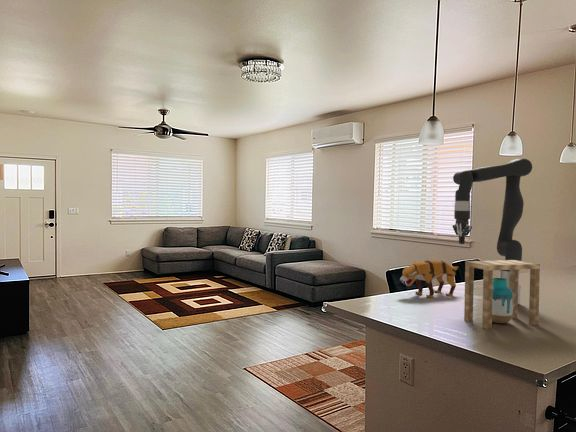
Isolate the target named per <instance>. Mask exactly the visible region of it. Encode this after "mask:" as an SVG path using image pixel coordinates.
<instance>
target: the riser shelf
mask: <svg viewBox="0 0 576 432" xmlns="http://www.w3.org/2000/svg"><path fill="white" fill-rule="evenodd" d="M464 265H465V267H464V306H463V307H464V308H463V309H464V311H463V312H464V313H463V314H464V315H463V319H464V321H465V322H467V323H469V322H474V290H475V289H474V286H475V285H474V282H475V281H474V280H475V279H474V278H475V269H479V270H483V273H482V275H483V277H482V278H483V279H482V280H483V281H482V283H483V284H482V321H481V322H482V323H481V324H482V329H486V330H491V329H493V327H492V326H493V325H492V324H493V322H492V292H493V278H494V277H493V276H494V271H499V270H510V283H509V288H510V289H511V290H512V292H513V314H512V318H511V320H512V319H515V320H516V319H518V312H519V310H518V309H519V304H518V276H519V277H520V270H529V297H528V299H529V300H528V302H529V305H528V325H531V326H539V322H540V321H539V319H540V317H539V315H540V312H539V311H540V310H539V309H540V279H541V278H540V276H541V275H540V273H541V272H540V271H541V270H540V269H541V268H540V267H541V264H540V263H536V262H529V261H523V260H522V261H518V260H505V259H503V260H501V259H500V260H496V259H495V260H466V261H465V264H464Z"/></svg>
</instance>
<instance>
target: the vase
mask: <svg viewBox="0 0 576 432" xmlns="http://www.w3.org/2000/svg"><path fill="white" fill-rule="evenodd" d="M512 314H513V292H512V290H511V289H510V288H508V286H507V279H505V278H499V277H493V292H492V323H496V324H507V323H509V322H510V321H512Z"/></svg>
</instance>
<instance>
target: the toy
mask: <svg viewBox="0 0 576 432" xmlns="http://www.w3.org/2000/svg"><path fill="white" fill-rule="evenodd" d="M459 269H460V265H459V266H458V265H457V266H453V265H452V264H449V263H448V262H446V261H443V260H438V259H428V260H425V261H424V260H423V261H415V262H413V263H412V264H411V265H409V266H406V267H404V268H403V269H402V272H401V273H402V275H401V277H400V278H399V281H400V282H401V283H403V284H402V285H405V286H406V287H411V286H412V285H413V284H414V282H415V283H416V286H417V288H418V291H415V295H423V289H424V287H423V285H422V281H425V284H426V287H427V289H428V291H429V295H428V294H426V295H425V296H426V298H429V299H432V298H434V295H435V294H441V293H442V290H443V287H444V284H445V280H444V279H443V276H444V275H446V281H447V284H449V285H450V289H449V292H448V293H447V292H446V293H445V296H447V297H452V296H454V291H455V289H456V286H457V284H456V283H455V276H456V271H458V270H459ZM434 279H436V281H437V282H438V283H439V284H438V288H437V290H435V289H434V285H433V282H432V281H433V280H434Z"/></svg>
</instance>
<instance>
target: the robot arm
mask: <svg viewBox="0 0 576 432" xmlns="http://www.w3.org/2000/svg"><path fill="white" fill-rule="evenodd" d="M532 170H533V164H532V162H531V160H529V159H527V158H516V159H512V160H510V161H509V162H508V163H505V164H504V163H503V164H498V165H489V166H482V167H477V168H474V169H469V170H468V169H467V170H460V171H457V172H455V173H454V175H453V178H452V180H453V182H454V184H456V185H458V189H456V190H455V193H454V197H455V198H454V214H453V215H454V217H453V218H454V220H455V224H453V225H452V226H451V227H452V229H453V231H454V233H455V234H456V236H458V244H459V245H465V243H466V239H465V238H466V236H467V237H468V236H469V234H470V232H471V230H472V228H473V226H472V225H470V222H469V220H470V219H471V191H472V186H473V183H480V182H481V183H482V182H485V181H490V180H494V179H499V178H504V177H505V191H504V200H503V206H502V207H503V208H502V215H501V216H502V217H501V223H500V230H499V235H498V239H497V242H496V251H497V254H498V255H499V256H501V257H505V258H504V260H518V261H523V260H522V259H523V257H522V256H523V246H522V243H521V242H520V241H518V240H516V239H513V237H514V230H515V229H516V226H517V225H518V223H519V222H520V220H521V218H522V216H523V212H524V204H525V203H524V197H523V195H522V192H521V189H520V184H521V177H525V176H527V175H529V174H530V173H531V172H532ZM498 278H505V279H507V286H508V288H509V283H510V270H498ZM521 288H522V287H521V285H520V275H519V276H518V305H521V290H522V289H521Z"/></svg>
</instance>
